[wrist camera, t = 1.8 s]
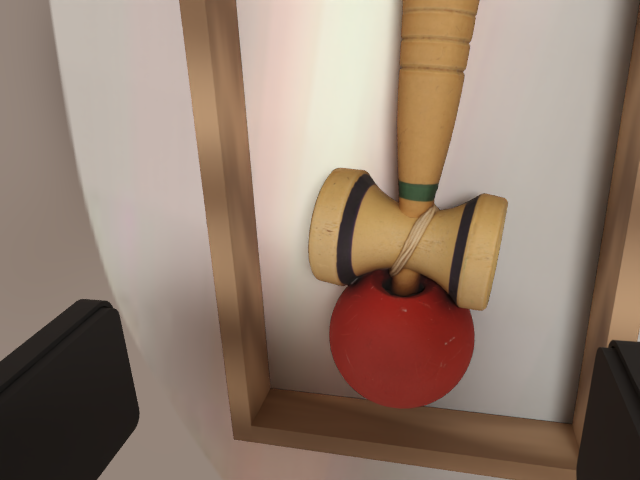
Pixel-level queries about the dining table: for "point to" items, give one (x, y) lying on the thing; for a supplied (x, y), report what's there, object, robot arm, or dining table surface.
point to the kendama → (410, 233)
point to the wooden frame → (359, 414)
